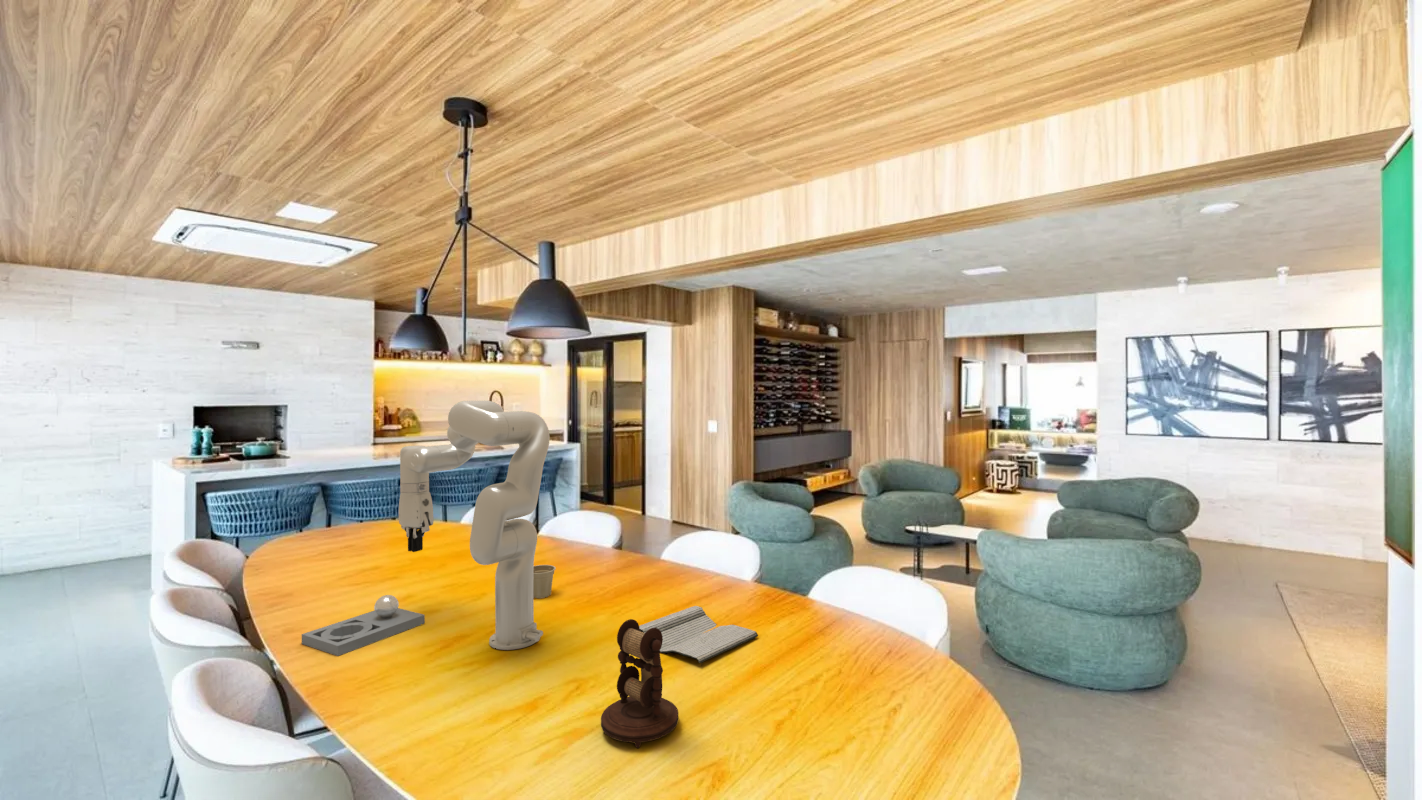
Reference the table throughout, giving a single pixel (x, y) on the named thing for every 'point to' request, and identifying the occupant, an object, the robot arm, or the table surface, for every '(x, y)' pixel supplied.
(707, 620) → the mat
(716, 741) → the table surface
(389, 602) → the steel ball
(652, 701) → the thread spool stand
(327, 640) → the hole board
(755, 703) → the table surface
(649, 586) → the table surface
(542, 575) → the flower pot
